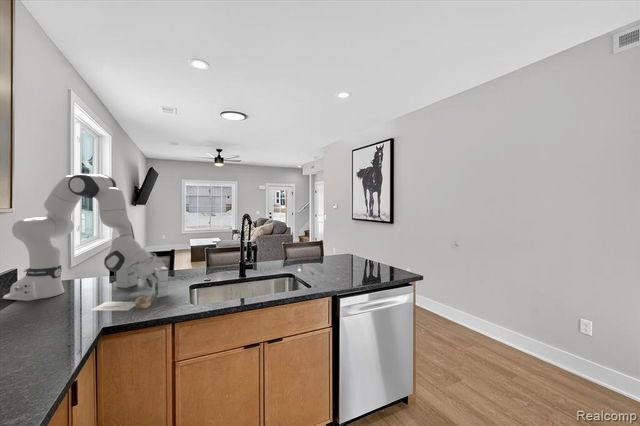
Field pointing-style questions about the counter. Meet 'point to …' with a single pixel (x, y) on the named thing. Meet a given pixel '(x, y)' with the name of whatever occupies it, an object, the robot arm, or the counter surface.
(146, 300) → the beech block
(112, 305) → the envelope
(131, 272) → the supplement box
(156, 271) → the syrup box
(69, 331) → the counter surface
